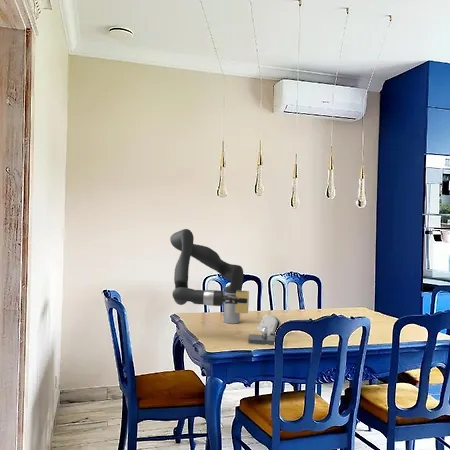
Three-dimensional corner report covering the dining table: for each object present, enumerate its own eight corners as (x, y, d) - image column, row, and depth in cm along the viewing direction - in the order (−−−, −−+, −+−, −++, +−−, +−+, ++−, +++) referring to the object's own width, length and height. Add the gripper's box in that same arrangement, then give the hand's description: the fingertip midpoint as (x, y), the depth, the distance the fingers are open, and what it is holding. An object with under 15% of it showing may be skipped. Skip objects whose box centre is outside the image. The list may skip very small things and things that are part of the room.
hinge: (255, 328, 259) (262, 311, 261) (263, 331, 261) (269, 314, 262) (269, 336, 244) (276, 317, 245) (277, 338, 245) (283, 320, 247)
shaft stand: (249, 338, 237) (249, 324, 237) (279, 339, 236) (280, 325, 236) (248, 343, 226) (249, 328, 226) (280, 345, 225) (280, 330, 225)
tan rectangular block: (236, 310, 235) (237, 290, 235) (248, 311, 235) (249, 291, 235) (235, 312, 229) (236, 292, 229) (247, 313, 229) (248, 292, 229)
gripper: (211, 292, 226) (247, 294, 225) (215, 288, 241) (248, 290, 239) (211, 308, 226) (246, 310, 225) (214, 303, 241) (247, 305, 239)
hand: (247, 299), depth 232 cm, fingers closed on tan rectangular block, 6 cm apart
